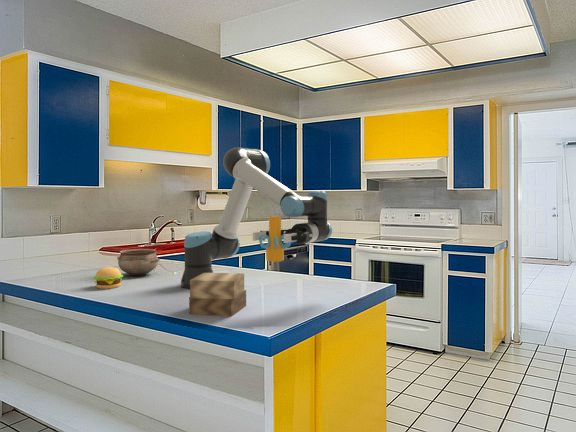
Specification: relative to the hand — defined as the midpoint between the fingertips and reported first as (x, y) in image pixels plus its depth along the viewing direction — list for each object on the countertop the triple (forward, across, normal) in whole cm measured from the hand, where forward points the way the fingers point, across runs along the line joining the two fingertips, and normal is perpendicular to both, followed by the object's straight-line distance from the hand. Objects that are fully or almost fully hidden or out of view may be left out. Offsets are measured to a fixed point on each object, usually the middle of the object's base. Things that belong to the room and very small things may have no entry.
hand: (268, 237), depth 152 cm
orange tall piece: (-4, 0, -8) cm, 9 cm away
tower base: (+5, +18, -26) cm, 32 cm away
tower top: (+5, +18, -20) cm, 28 cm away
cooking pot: (-24, +100, -26) cm, 106 cm away
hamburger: (+2, +86, -26) cm, 90 cm away
